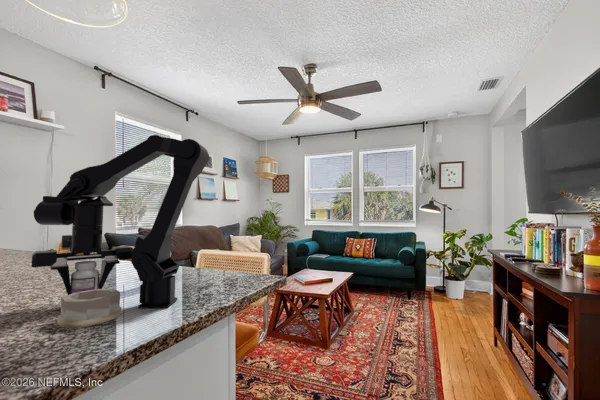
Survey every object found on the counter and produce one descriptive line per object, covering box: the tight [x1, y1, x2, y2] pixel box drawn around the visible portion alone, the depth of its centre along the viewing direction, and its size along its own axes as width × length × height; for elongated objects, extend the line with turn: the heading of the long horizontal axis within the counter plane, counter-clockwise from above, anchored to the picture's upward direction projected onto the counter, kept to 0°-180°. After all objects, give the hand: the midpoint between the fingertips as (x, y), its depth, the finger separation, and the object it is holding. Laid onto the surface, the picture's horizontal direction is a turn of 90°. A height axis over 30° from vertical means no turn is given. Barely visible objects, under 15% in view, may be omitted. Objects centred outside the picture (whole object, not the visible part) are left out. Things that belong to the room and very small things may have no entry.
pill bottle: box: [70, 260, 100, 294], centre depth 67 cm, size 5×5×10 cm
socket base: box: [56, 288, 122, 328], centre depth 58 cm, size 10×10×4 cm
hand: (84, 293), depth 67 cm, fingers closed on pill bottle, 5 cm apart
